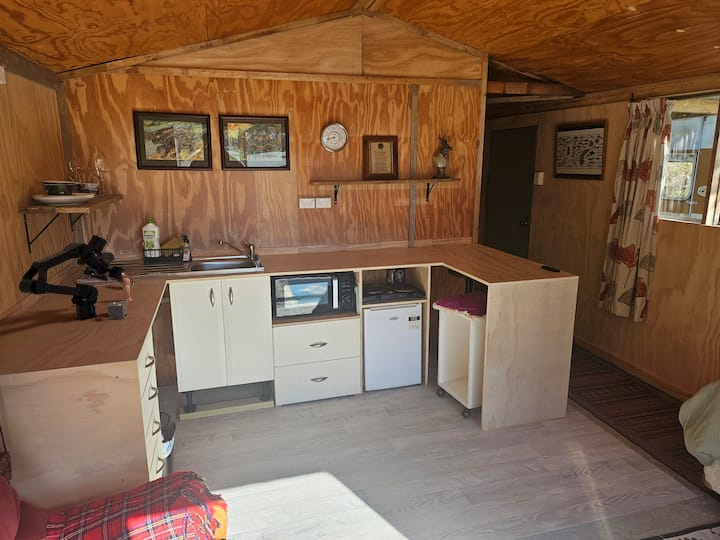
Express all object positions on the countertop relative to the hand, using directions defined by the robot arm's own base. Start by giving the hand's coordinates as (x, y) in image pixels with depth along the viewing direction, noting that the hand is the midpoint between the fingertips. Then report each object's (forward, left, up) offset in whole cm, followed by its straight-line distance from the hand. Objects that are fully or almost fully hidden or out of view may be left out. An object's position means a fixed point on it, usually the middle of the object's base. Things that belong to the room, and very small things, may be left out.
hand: (115, 281), depth 233 cm
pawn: (+6, +2, -11) cm, 12 cm away
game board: (+2, +1, -12) cm, 12 cm away
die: (-9, -16, -12) cm, 22 cm away
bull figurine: (+23, +30, -12) cm, 40 cm away
